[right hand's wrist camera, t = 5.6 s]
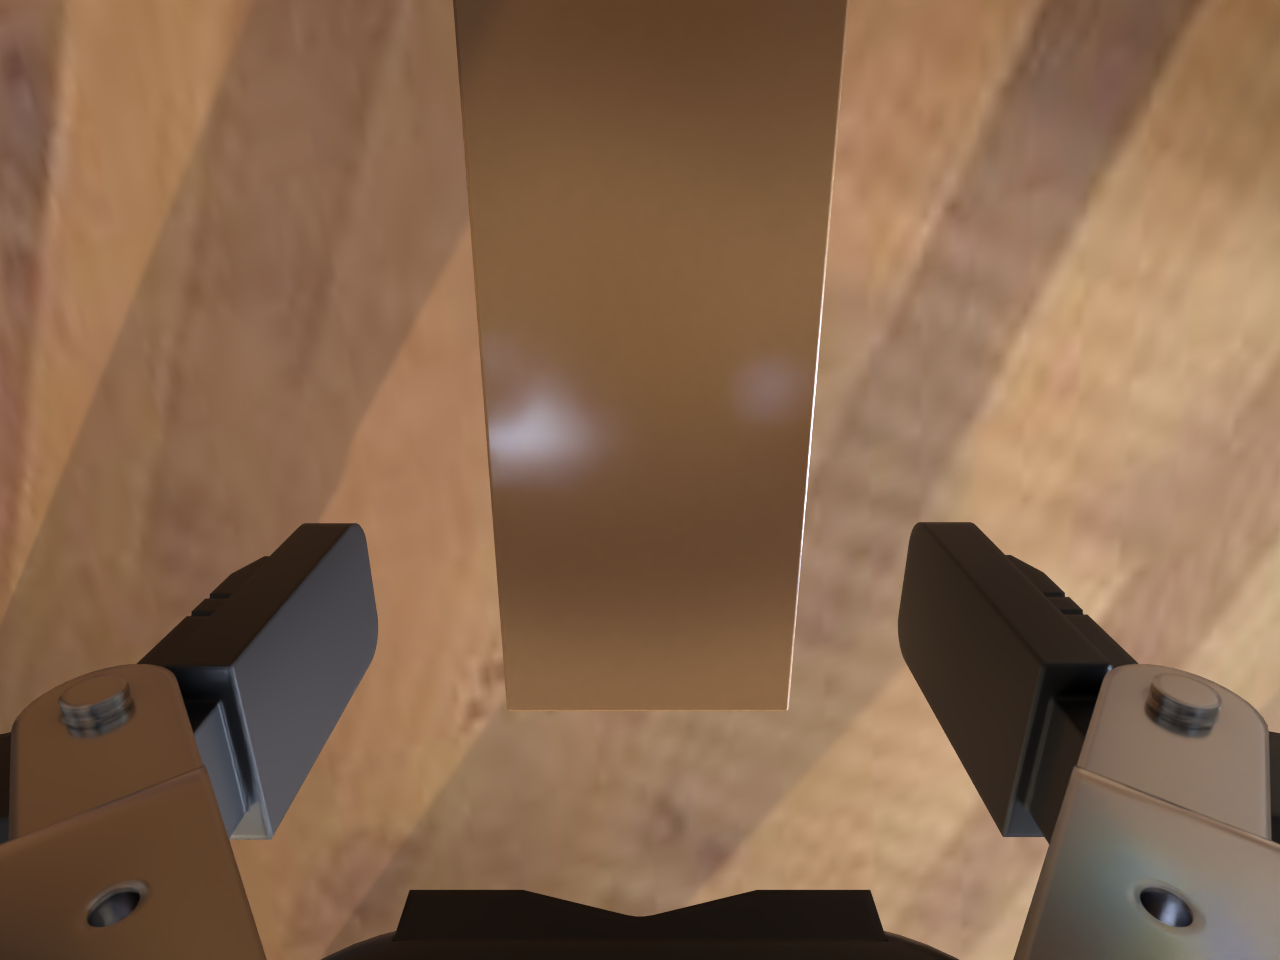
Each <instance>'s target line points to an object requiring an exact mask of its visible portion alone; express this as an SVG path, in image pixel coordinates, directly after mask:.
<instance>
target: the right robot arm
mask: <svg viewBox="0 0 1280 960" xmlns="http://www.w3.org/2000/svg"><path fill="white" fill-rule="evenodd" d="M898 635H899V643H900V648H901V652H902V655H903V658H904V660H905V662H906V664H907V665H908V667H909V669H910V671H911V673H912V674H913V676H914V678H915V680H916V682H917V683H918V685H919V687H920V689H921V691H922V692H923V694H924V696H925V698H926V699H927V701H928V703H929V705H930V707H931V708H932V710H933V712H934V714H935V716H936V717H937V719H938V721H939V723H940V725H941V726H942V728H943V730H944V732H945V734H946V735H947V737H948V739H949V741H950V743H951V744H952V746H953V748H954V750H955V752H956V753H957V755H958V757H959V759H960V761H961V762H962V764H963V766H964V768H965V769H966V771H967V773H968V775H969V777H970V778H971V780H972V782H973V784H974V786H975V787H976V789H977V791H978V793H979V795H980V796H981V798H982V800H983V802H984V804H985V805H986V807H987V809H988V811H989V813H990V814H991V816H992V818H993V820H994V822H995V823H996V825H997V827H998V829H999V830H1000V832H1001V834H1002V836H1003V837H1045V838H1046V840H1047V841H1048V843H1049V848H1048V851H1047V854H1046V857H1045V860H1044V864H1043V867H1042V870H1041V873H1040V876H1039V880H1038V883H1037V886H1036V889H1035V892H1034V895H1033V899H1032V902H1031V905H1030V908H1029V911H1028V915H1027V918H1026V921H1025V924H1024V927H1023V931H1022V934H1021V937H1020V940H1019V943H1018V947H1017V950H1016V953H1015V956H1014V959H1013V960H1280V733H1275V732H1270V731H1268V726H1267V724H1266V722H1265V720H1264V718H1263V717H1262V716H1261V715H1260V713H1259V712H1258V711H1257V710H1256V709H1255V708H1254V707H1253V706H1252V705H1250V704H1249V703H1248V702H1247V701H1245V700H1244V699H1243V698H1241V697H1240V696H1238V695H1237V694H1235V693H1234V692H1232V691H1230V690H1229V689H1227V688H1225V687H1223V686H1221V685H1219V684H1217V683H1215V682H1213V681H1210V680H1208V679H1206V678H1203V677H1201V676H1198V675H1195V674H1192V673H1189V672H1186V671H1182V670H1178V669H1175V668H1170V667H1165V666H1159V665H1150V664H1138V663H1137V662H1136V661H1135V660H1134V659H1133V658H1132V657H1131V656H1130V655H1129V654H1128V653H1127V652H1126V651H1125V650H1124V649H1123V648H1122V647H1121V646H1120V645H1118V644H1117V643H1116V642H1115V641H1114V640H1113V639H1112V638H1111V637H1110V636H1109V635H1108V634H1107V633H1106V632H1105V631H1104V630H1103V629H1102V628H1101V627H1100V626H1099V625H1098V624H1097V623H1096V622H1095V621H1093V620H1092V619H1091V618H1090V617H1089V616H1088V615H1083V610H1082V609H1081V608H1080V607H1079V606H1078V605H1077V604H1076V603H1075V602H1074V601H1073V600H1072V599H1071V598H1069V597H1065V593H1064V592H1063V591H1062V590H1061V589H1060V588H1059V587H1058V586H1057V585H1056V584H1055V583H1054V582H1053V581H1052V580H1051V579H1050V578H1049V577H1048V576H1047V575H1046V574H1044V573H1043V572H1041V571H1040V570H1038V569H1036V568H1034V567H1032V566H1030V565H1028V564H1026V563H1025V562H1023V561H1021V560H1019V559H1017V558H1015V557H1013V556H1011V555H1005V554H1004V553H1003V552H1002V551H1001V550H1000V549H999V548H998V547H997V546H996V545H995V544H994V543H993V542H992V541H991V540H990V539H989V538H988V537H987V536H986V535H985V534H984V533H983V532H982V531H981V530H980V529H979V528H978V527H977V526H976V525H975V524H973V523H971V522H919V523H917V524H916V525H915V526H914V528H913V530H912V532H911V536H910V540H909V547H908V554H907V561H906V568H905V575H904V582H903V589H902V596H901V602H900V609H899V617H898ZM377 637H378V618H377V610H376V604H375V597H374V590H373V583H372V576H371V569H370V563H369V556H368V549H367V542H366V537H365V534H364V531H363V529H362V528H361V526H360V525H359V524H357V523H305V524H302V525H301V526H300V527H299V528H298V529H297V530H296V531H295V532H294V533H293V534H292V535H291V536H290V537H289V538H288V539H287V540H286V541H285V542H284V543H283V544H282V545H281V546H280V547H279V548H278V549H277V550H276V551H275V552H274V553H273V554H272V555H271V556H264V557H262V558H260V559H259V560H257V561H255V562H253V563H251V564H249V565H247V566H245V567H244V568H242V569H240V570H238V571H236V572H234V573H232V574H231V575H230V576H229V577H228V578H227V579H226V580H224V581H223V582H222V583H221V584H220V585H219V586H218V587H217V588H216V589H215V590H214V591H213V592H212V593H211V594H210V598H209V599H205V600H203V601H202V602H201V603H200V604H199V605H198V606H197V607H196V608H195V609H194V610H193V611H192V615H191V616H187V617H186V618H185V619H183V620H182V621H181V622H180V623H179V624H178V625H177V626H176V627H175V628H174V629H173V630H172V631H171V632H170V633H169V634H168V635H167V636H166V637H165V638H163V639H162V640H161V641H160V642H159V643H158V644H157V645H156V646H155V647H154V648H153V649H152V650H151V651H150V652H149V653H148V654H147V655H146V656H145V657H144V658H142V659H141V660H140V661H139V662H138V663H137V664H130V665H121V666H115V667H110V668H105V669H102V670H98V671H94V672H91V673H88V674H85V675H82V676H79V677H77V678H74V679H72V680H70V681H67V682H65V683H63V684H61V685H59V686H57V687H55V688H53V689H51V690H50V691H48V692H46V693H45V694H43V695H42V696H40V697H39V698H37V699H36V700H35V701H33V702H32V703H31V704H30V705H28V706H27V707H26V708H25V709H24V710H23V711H22V712H21V713H20V715H19V716H18V717H17V718H16V720H15V722H14V724H13V726H12V731H11V732H10V733H5V734H0V960H267V959H266V956H265V953H264V950H263V947H262V943H261V940H260V937H259V934H258V931H257V927H256V924H255V921H254V918H253V915H252V911H251V908H250V905H249V902H248V899H247V896H246V892H245V889H244V886H243V883H242V880H241V876H240V873H239V870H238V867H237V864H236V860H235V857H234V854H233V851H232V848H231V844H230V841H229V840H271V839H272V837H273V835H274V833H275V832H276V830H277V828H278V826H279V824H280V823H281V821H282V819H283V817H284V816H285V814H286V812H287V810H288V808H289V807H290V805H291V803H292V801H293V800H294V798H295V796H296V794H297V793H298V791H299V789H300V787H301V785H302V784H303V782H304V780H305V778H306V777H307V775H308V773H309V771H310V769H311V768H312V766H313V764H314V762H315V761H316V759H317V757H318V755H319V754H320V752H321V750H322V748H323V746H324V745H325V743H326V741H327V739H328V738H329V736H330V734H331V732H332V730H333V729H334V727H335V725H336V723H337V722H338V720H339V718H340V716H341V715H342V713H343V711H344V709H345V707H346V706H347V704H348V702H349V700H350V699H351V697H352V695H353V693H354V691H355V690H356V688H357V686H358V684H359V683H360V681H361V679H362V677H363V676H364V674H365V672H366V670H367V668H368V667H369V665H370V663H371V661H372V659H373V656H374V653H375V649H376V644H377ZM321 960H959V959H957V958H955V957H953V956H951V955H948V954H946V953H944V952H942V951H940V950H938V949H935V948H933V947H931V946H929V945H926V944H924V943H921V942H918V941H915V940H912V939H909V938H906V937H904V936H901V935H897V934H893V933H890V932H886V931H883V928H882V925H881V922H880V919H879V915H878V912H877V909H876V906H875V903H874V900H873V897H872V894H871V891H870V890H755V891H751V892H747V893H743V894H739V895H734V896H730V897H726V898H722V899H718V900H714V901H710V902H706V903H701V904H697V905H693V906H689V907H685V908H681V909H677V910H673V911H668V912H664V913H660V914H656V915H651V916H645V917H635V916H629V915H624V914H620V913H616V912H612V911H607V910H603V909H599V908H595V907H591V906H587V905H583V904H579V903H574V902H570V901H566V900H562V899H558V898H554V897H550V896H546V895H541V894H537V893H533V892H529V891H525V890H410V891H409V894H408V897H407V900H406V903H405V906H404V909H403V912H402V915H401V919H400V922H399V925H398V928H397V931H394V932H390V933H387V934H383V935H379V936H376V937H374V938H371V939H368V940H365V941H362V942H359V943H356V944H354V945H351V946H349V947H347V948H345V949H342V950H340V951H338V952H336V953H334V954H332V955H329V956H327V957H325V958H323V959H321Z"/></svg>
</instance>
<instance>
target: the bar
mask: <svg viewBox="0 0 1280 960" xmlns="http://www.w3.org/2000/svg"><path fill="white" fill-rule="evenodd" d="M453 5H454V18H455V31H456V44H457V57H458V70H459V83H460V97H461V110H462V123H463V136H464V149H465V162H466V175H467V188H468V201H469V214H470V228H471V241H472V254H473V267H474V280H475V293H476V306H477V319H478V332H479V345H480V359H481V372H482V385H483V398H484V411H485V424H486V437H487V450H488V463H489V476H490V489H491V503H492V516H493V529H494V542H495V555H496V568H497V581H498V594H499V607H500V620H501V634H502V647H503V660H504V673H505V686H506V699H507V709H508V710H509V711H786V710H788V708H789V697H790V685H791V673H792V661H793V650H794V638H795V626H796V615H797V603H798V591H799V580H800V568H801V556H802V545H803V533H804V521H805V510H806V498H807V486H808V475H809V463H810V451H811V439H812V428H813V416H814V404H815V393H816V381H817V369H818V358H819V346H820V334H821V323H822V311H823V299H824V288H825V276H826V264H827V253H828V241H829V229H830V217H831V206H832V194H833V182H834V171H835V159H836V147H837V136H838V124H839V112H840V101H841V89H842V77H843V66H844V54H845V42H846V31H847V19H848V7H849V0H453Z"/></svg>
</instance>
